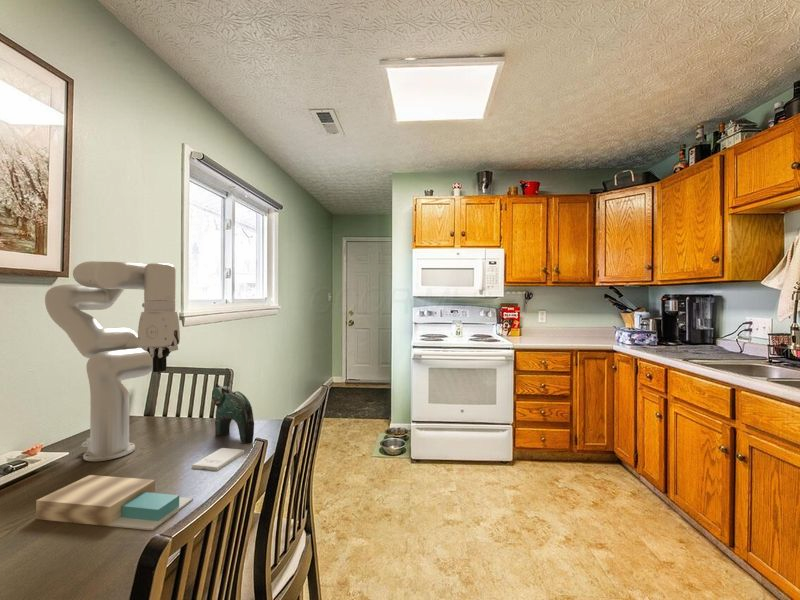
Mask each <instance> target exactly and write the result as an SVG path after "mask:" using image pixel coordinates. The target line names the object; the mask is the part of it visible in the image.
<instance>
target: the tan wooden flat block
mask: <svg viewBox="0 0 800 600" xmlns="http://www.w3.org/2000/svg"><path fill="white" fill-rule="evenodd" d="M144 492H149V493H156V480H155V479H147V478H146V479H145V478H135V477H121V476H120V477H119V476H107V475H96V474H89V475H87V476H85V477H82V478H81V479H79V480H77V481H74V482H72V483H70V484H68V485H66V486H63V487H62V488H59V489H57V490H55V491H53V492H51V493H49V494H47V495H44V496H43V497H40V498H38V499H36V500H35V501H36V502H35V504H36V505H35V520H41V521H43V520H45V521H52V522H64V523H72V522H73V524H81V525H82V524H85V525H93V526H104V527H105V526H106V527H111V526H110V524H111V523H112V522H114V521H116V520H117V519H119V518H120V517H121V506H122V505H124V504H126V503H127V502H129V501H131V500H132V499H134V498H136V497H137V496H139V495H141V494H142V493H144Z"/></svg>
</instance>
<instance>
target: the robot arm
mask: <svg viewBox="0 0 800 600" xmlns="http://www.w3.org/2000/svg"><path fill="white" fill-rule="evenodd" d="M176 272H177V271H176V267H175V265H173V264H170V263H164V262H163V263H162V262H160V263H158V262H152V263H151V262H150V263H147V264H146V263H135V262H127V261H125V262H124V261H122V262H121V261H100V260H99V261H97V260H96V261H94V260H92V261H84V262H81V263H79V264H77V265H76V266H75V267H74V268H73V270H72V278H73V279H74V281H75V282H76V283H75V284H72V283H71V284H67V283H66V284H60V285H55V286H52V287H51V288H49V289H48V290H47V291H46V292H45V297H44V304H45V309H46V312H47V314H48V315H49V317H50V318H51V320H52V321H53V322H54V323H55V324H56V326H58V327H59V328H60V329H62V330H63V331H64V332H65V333H66V334H67V336H68V339H70V341H71V342H72V343H73V345H74V346H75V348H76V349H77V350H78V351H79V353H80V354H81V356H83V357H85V358H86V359H88V360H87V363H86V365H85V366H86V373H87V374H86V375H87V378H88V383H89V384H88V385H89V392H90V398H89V399H90V402H89V404H90V417H89V418H90V420H89V421H90V425H89V426H90V427H89V428H90V431H89V433H90V434H89V435H90V436H89V437H87V438H86V439H85V441H83V442H82V443H81V444H80V446H81V447H84V448H87V451H85V452H84V453H83V456H82V457H83V460H84V461H87V462H104V461H109V460H114V459H117V458H121V457H125V456H127V455H129V454H131V453H133V452H134V451H135V450H136V444H135V443H133V442H130V392H129V390H128V388H126V386H124V384H123V383H122V381H124V380H129V379H134V378H135V379H136V378H140V377H144V376H147V375H149V374H150V373H161V372H165V371H167V357H169V356H170V353H171V352H174V351H175V352H176V351H178V350H179V344H180V339H181V336H180V335H181V331H180V320H179V316H178V311H176V278H177V277H176V274H177V273H176ZM125 290H141V291H142V290H144V291H143V296H144V297H143V303H142V304H141V306H142V308H143V311H141V312H140V316H139V321H138V328H137V332H136V331H134V330H132V329H131V328H129V327H104V326H102V325H101V324H100V323H99V321H98V320H97V319H96V318H95V316H92V315H91V314H89V313H86V312H85V311H94V310H95V311H96V310H98V311H99V310H107V309H109V308H111V307H112V306H114V304H115V302H116V301H117V300H118V299H119V297H120V296H121V295H122V293H123V292H124V291H125Z"/></svg>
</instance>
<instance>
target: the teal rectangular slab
mask: <svg viewBox="0 0 800 600" xmlns="http://www.w3.org/2000/svg"><path fill="white" fill-rule="evenodd" d="M179 497H180V494H179V495H178V494H170V493H169V494H167V493H158V492H155V493H149V492H144V493H142V494H141V495H139V496H137V497H136V498H134V499H132V500H131V501H129V502H127V503H126V504H124V505H122V506H121V517H124V518H134V519H143V520H152V521H159V520H160V519H162V518H163V517H165V516H166V515H167V514H169V513H170V512H172V511H173V510H174V509H176V508H177V507H178V506H179Z"/></svg>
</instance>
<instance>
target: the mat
mask: <svg viewBox="0 0 800 600" xmlns="http://www.w3.org/2000/svg"><path fill="white" fill-rule="evenodd" d="M193 500H194V498H193V497H183V496H179V506H178V507H177V508H176V509H174V510H173V511H172V512H170V513H169V514H167V515H166V516H165V517H163V518H162V519H160V520H159V521H152V520H143V519H134V518H124V517H120V518H119V519H117V520H116V521H114V522H112V523H111V524H110V526H109V527H114V528H125V529H126V528H127V529H136V530H147V531H155V529H157V528H158V527H159V526H161V525H162V524H163V523H164V522H166V521H167V520H168V519H170V518H171V517H172V516H174V515H175V514H176V513H177V512H179V511H181V510H182V509H183V508H184V507H186V506H187V505H188V504H190V503H191V502H192V501H193ZM190 501H191V502H190ZM189 502H190V503H189ZM185 505H186V506H185Z"/></svg>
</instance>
